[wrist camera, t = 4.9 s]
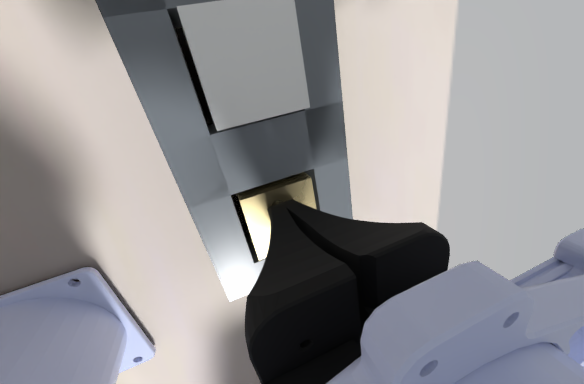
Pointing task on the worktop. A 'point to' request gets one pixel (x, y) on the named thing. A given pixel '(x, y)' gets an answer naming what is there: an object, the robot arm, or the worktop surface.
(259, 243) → the brass key
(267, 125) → the keypad
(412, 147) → the worktop surface
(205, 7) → the grey key
